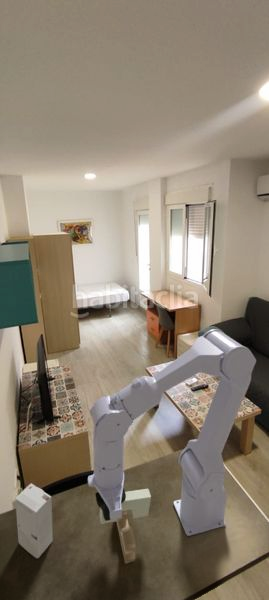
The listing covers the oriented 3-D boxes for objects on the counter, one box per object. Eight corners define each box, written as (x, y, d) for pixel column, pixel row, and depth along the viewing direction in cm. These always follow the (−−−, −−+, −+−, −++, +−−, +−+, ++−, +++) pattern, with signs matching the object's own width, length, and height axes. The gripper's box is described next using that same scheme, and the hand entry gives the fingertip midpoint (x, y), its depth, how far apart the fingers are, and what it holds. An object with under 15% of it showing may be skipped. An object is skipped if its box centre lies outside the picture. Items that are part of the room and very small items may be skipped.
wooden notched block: (123, 513, 67) (123, 496, 66) (135, 560, 58) (135, 542, 57) (115, 515, 67) (115, 498, 66) (125, 563, 58) (125, 545, 56)
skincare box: (17, 543, 61) (12, 498, 57) (34, 525, 64) (30, 481, 61) (38, 560, 58) (34, 514, 54) (55, 540, 62) (52, 495, 58)
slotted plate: (145, 507, 63) (148, 488, 62) (148, 515, 61) (151, 496, 60) (99, 514, 60) (101, 495, 59) (100, 524, 58) (103, 504, 57)
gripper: (83, 434, 61) (85, 485, 65) (92, 496, 48) (93, 555, 52) (116, 429, 63) (116, 478, 67) (134, 486, 50) (132, 545, 54)
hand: (108, 511), depth 59 cm, fingers closed on slotted plate, 2 cm apart
